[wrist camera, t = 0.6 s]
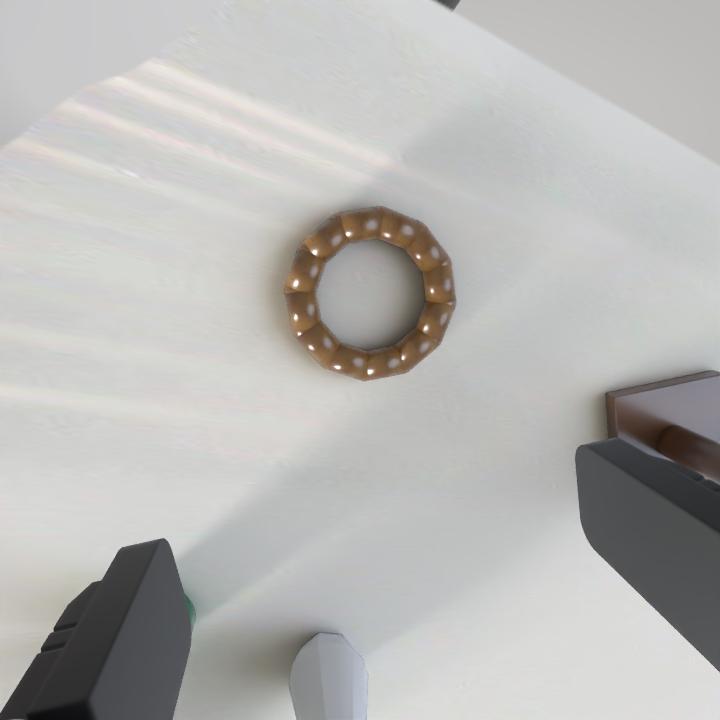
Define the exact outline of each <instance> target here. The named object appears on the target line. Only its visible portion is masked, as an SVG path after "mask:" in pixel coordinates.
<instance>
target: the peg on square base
mask: <svg viewBox="0 0 720 720" xmlns="http://www.w3.org/2000/svg"><path fill="white" fill-rule="evenodd" d="M606 407H607V423H608V438H609V439H612V438H620V439H622V440H624V441H626V442H628V443H629V444H631V445H633V446H635V447H636V448H638V449H640V450H642V451H644V452H645V453H647V454H649V455H652V456H655V457H659V458H662V459H666V460H669V461H673V462H676V463H680V464H682V465H684V466H686V467H688V468H690V469H692V470H693V471H695V472H697V473H699V474H701V475H703V476H704V478H705V479H710V480H712V481H714V482H716V483H717V484H719V485H720V372H717V371H714V370H713V371H708V372H704V373H699V374H694V375H689V376H685V377H680V378H675V379H671V380H666V381H661V382H656V383H652V384H647V385H642V386H638V387H633V388H628V389H624V390H619V391H614V392H609V393H606Z"/></svg>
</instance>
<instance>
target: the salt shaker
mask: <svg viewBox="0 0 720 720" xmlns="http://www.w3.org/2000/svg"><path fill="white" fill-rule="evenodd" d="M289 689H290V693H291V697H292V702H293V706H294V710H295V714H296V719H297V720H367V696H368V672H367V669H366V666H365V663H364V660H363V658H362V655H360V654H359V653H358V652H357V651H356V650H355V649H354V648H353V647H352V646H351V645H350V643H349V642H348V641H347V640H346V639H345V638H344V636H343V635H342V634H330V633H318V634H317V635H316V636H314V637H313V638H312V639H311V640H310V641H308V642H307V643H306V644H305V645H304V646H302V647H301V649H300V651H299V653H298V655H297V656H296V658H295V660H294V662H293V664H292V669H291V674H290V679H289Z"/></svg>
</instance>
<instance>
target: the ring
mask: <svg viewBox="0 0 720 720" xmlns="http://www.w3.org/2000/svg"><path fill="white" fill-rule="evenodd" d="M373 239H380V240H382V241H385V242H387V243H390V244H392V245H395V246H398V247H400V248H403V249H405V251H406V252H407V253H408V254H409V256H410V257H411V258H412V260H413V261H414V262H415V263H416V265H417V266H418V267H419V269H420V270H421V271H422V275H423V282H424V289H425V296H426V302H425V304H424V307H423V310H422V312H421V315H420V318H419V320H418V323H417V325H416V328H414V329H413V330H412V331H411V332H410V333H408V334H407V335H406V336H405V337H404V338H403V339H401V340H400V341H399V342H398V343H397V344H395V345H394V346H390V347H385V348H380V349H375V350H369V351H365V350H362V349H359V348H356V347H353V346H350V345H347V344H344V343H342V342H340V341H339V340H338V339H337V338H336V337H335V336H334V334H333V333H332V332H331V331H330V330H329V329H328V328H327V326H326V325H325V324H324V323H323V322H322V321H321V316H320V310H319V305H318V300H317V294H316V290H317V287H318V284H319V281H320V279H321V276H322V273H323V270H324V267H325V264H326V263H327V262H328V261H329V260H330V259H331V258H333V257H334V256H335V255H336V254H337V253H338V252H340V251H341V250H342V249H343V248H344V247H345V246H347V245H348V244H350V243H356V242H362V241H367V240H373ZM284 291H285V297H286V302H287V307H288V312H289V316H290V321H291V326H292V331H293V334H294V335H295V337H296V338H297V339H298V340H299V341H300V342H301V344H302V345H303V346H304V347H305V348H306V349H307V350H308V351H309V353H310V354H311V355H312V356H313V357H314V358H315V359H316V361H317V362H318V363H319V364H320V365H321V366H322V367H324V368H326V369H328V370H331V371H335V372H338V373H341V374H344V375H347V376H350V377H353V378H356V379H359V380H362V381H369V380H374V379H379V378H384V377H389V376H394V375H399V374H404V373H407V372H409V371H410V370H411V369H412V368H414V367H415V366H416V365H417V364H418V363H419V362H421V361H422V360H423V359H424V358H425V357H427V356H428V355H429V354H430V353H431V352H432V351H434V350H435V349H436V348H437V347H438V346H439V345H440V344H441V342H442V340H443V337H444V335H445V332H446V330H447V327H448V324H449V322H450V319H451V317H452V314H453V312H454V309H455V307H456V294H455V286H454V278H453V270H452V263H451V259H450V257H449V256H448V254H447V253H446V252H445V250H444V249H443V248H442V246H441V245H440V244H439V242H438V241H437V240H436V238H435V237H434V236H433V234H432V233H431V232H430V231H429V229H428V228H427V227H426V225H425V224H424V223H422V222H420V221H418V220H415V219H413V218H410V217H408V216H405V215H403V214H400V213H398V212H396V211H393V210H391V209H388V208H386V207H382V206H376V207H370V208H364V209H358V210H352V211H347V212H341V213H336V214H334V215H333V216H331V217H330V218H329V219H328V220H327V221H326V222H324V223H323V224H322V225H321V226H320V227H319V228H317V229H316V230H315V231H314V232H313V233H312V234H310V235H309V236H308V237H307V238H306V239H305V240H303V241H302V242H301V243H300V245H299V246H298V249H297V252H296V255H295V258H294V261H293V264H292V267H291V270H290V272H289V275H288V278H287V281H286V284H285V289H284Z"/></svg>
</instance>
